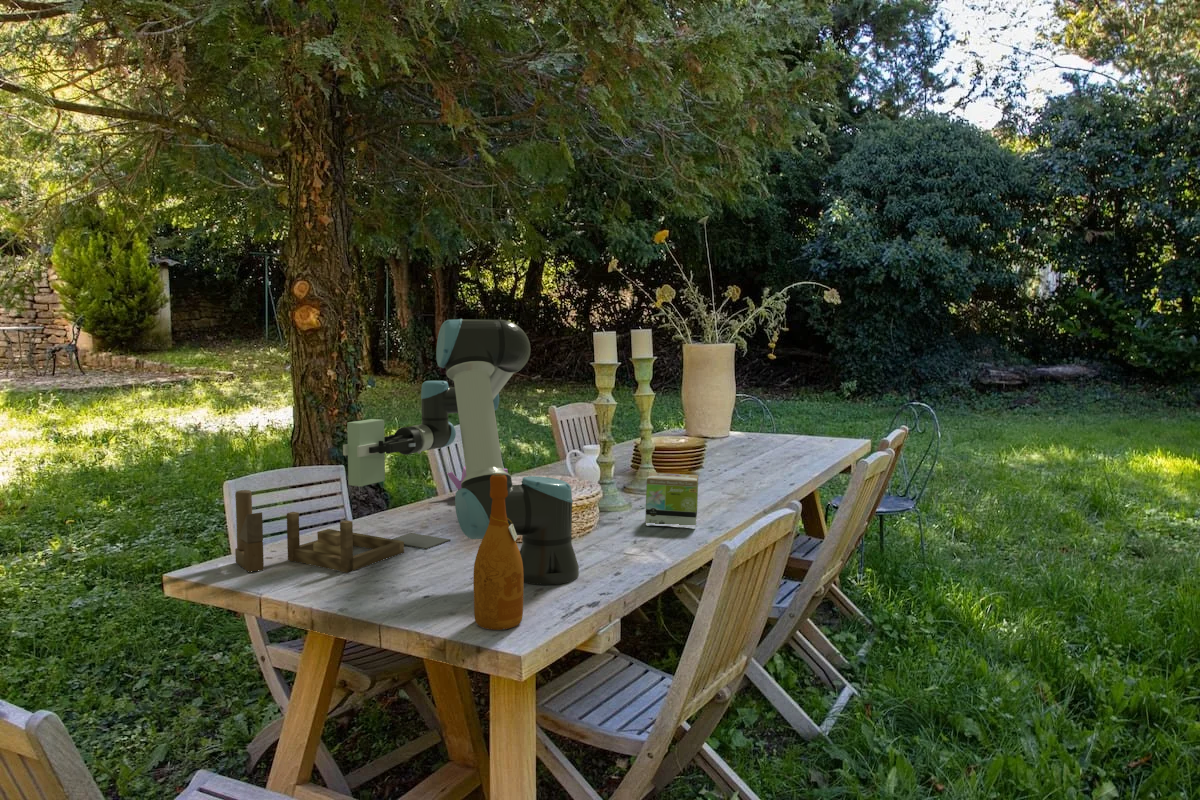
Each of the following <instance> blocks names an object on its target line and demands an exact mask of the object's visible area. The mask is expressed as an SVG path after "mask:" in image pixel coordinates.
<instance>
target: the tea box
mask: <svg viewBox="0 0 1200 800" xmlns="http://www.w3.org/2000/svg"><path fill="white" fill-rule="evenodd" d="M645 493H646V494H645V523H655V524H679V525H697V521H696V519H697V520H698V497H699V494H698V493H699V475H698V474H685V473H684V474H682V473H681V474H680V473H663V472H662V473H661V472H649V475H648V476H647V478H646V491H645Z"/></svg>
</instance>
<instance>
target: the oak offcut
mask: <svg viewBox="0 0 1200 800" xmlns="http://www.w3.org/2000/svg"><path fill="white" fill-rule="evenodd" d="M313 549H314V551H316V552H321V553H326V554H331V555H336V556H341V549H340V546H333V545H328V544H324V543H319V542H316V543H314V544H313Z"/></svg>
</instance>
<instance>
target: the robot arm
mask: <svg viewBox="0 0 1200 800" xmlns="http://www.w3.org/2000/svg"><path fill="white" fill-rule="evenodd" d="M436 342H437V343H436V349H435V350H436V353H435V354H436V355H435V357H436V358H435V359H436V363H437V366H438V367H439V368H442V369H445V372H446V376H447V378H448V379H450V380H451V381H452V382H453V383H454V386H449V383H448V381H446V380H425V381H424V382H423V383H422V384H421V392H420V393H421V394H420V395H421V396H420V401H421V406H420V407H421V424H414V425H409V426H404V427H400V428H398V429H396V431H395V433H394V434H389V435H387V436H386V435H384V442H383V441H379V446H378V443H372V444H367V445H361V446H357V457H363V456H368V455H373V454H378V452H379V453H380V454H382V453H385V454H387V455H389V454H394V453H399V454H401V455H405V456H407V455H412V454H415V453H417V454H418V455H419V454H421V453H422V452H427V451H429V450H436V449H442V448H446V447H447V446H450V445H451V444H452V443H453V442H455V440H456V436H457V432H456V429H455V426H454V424H453V423H451V421H449V414H458V420H459V428H460V429H459V430H460V435H461V444H462V452H463V458H464V466H465V468H466V477H465V478H464V480H463V481H462V482H461V489H460V490H458V489H457V491H456V493H455V495H454V503H455V505H454V509H455V513H456V518H457V523H458V525H459V526H460V530H461V531H462V532H463V534H464V536H465V537H467V539H470V540H483V537H484V535H485V533H486V530H487V528H488V525H489V522H490V514H491V506H492V498H491V497H490V477H491V476H492V475H494V474H503V475H505V476H506V477H507V491H508V496H507V497H506V498H505V506H506V515H507V518H508V519H507V521H508V524H509V525H511V524H513V526H514V528H515V531H516V534H517V537H519V536H522V537H521V542H522V543H521V546H520V549H519V551H520V554H521V558H522V563H523V574H524V583H526V584H532V585H542V586H543V585H544V586H546V585H547V586H549V585H550V586H551V585H560V584H565V583H569V582H572V581H574V580H576V579H577V578H578V577H579V573H580V572H579V571H580V569H579V567H580V566H579V563H578V560H577V557H576V553H575V549H574V547H573V543H572V541H573V540H572V535H573V534H572V532H573V531H572V529H573V527H572V523H573V521H572V519H573V502H574V501H573V497H572V487H571V485H570V484H569V483H568V482H567V481H565V480H562V479H558V478H554V477H548V476H537V475H533V476H532V475H529V476H524V477H523V478H522V480H521V484H513V480H512V476H511V474H510V473H509V472H508V473H507V472H505V471H504V470H503V469H504V466H503V465H504V464H503V458H502V451H501V444H500V437H499V431H498V425H497V419H496V418H497V417H496V412H495V411H497V410H498V408H499V404H500V392H501V390H502V389H503V388H504V387H505V385H506V384H507V383H508V381H510V379H511V377H512V376H513V375H514V374H515V373H517V372H519V371H521V370H522V369H523V368H524V367H525V366H526V364H528V361H529V360H530V356H531V350H532V349H531V343H530V340H529V337H528V335H527V333H526V332H525V331H524V330H523V329H522V328H521V327H520V326H519V325H518V324H515V323H514V322H512V321H509V320H506V319H463V318H457V319H446V320H444V322H442V324H441V326H440V328H439V331H438V335H437V341H436ZM342 455H343V456H345V457H346V456H348V443H345V444H342ZM511 522H512V523H511Z"/></svg>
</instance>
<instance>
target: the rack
mask: <svg viewBox="0 0 1200 800" xmlns="http://www.w3.org/2000/svg"><path fill="white" fill-rule="evenodd" d="M353 529H354V527H353V520H343V521H340V522H339V531H340V549H341V556H336V555H331V554H326V553H321V552H316V551H314V549H313V544H314V543H316V542H318V539H315V540H312V541H310V542H307V543H303V544H300V543H301V542H300V540H301V539H300V513H299V512H297V511H289V512H287V513H286V531H287V532H286V533H287V534H286V535H287V539H286V540H287V542H286V543H287V544H286V545H287V561H288V560H290V561H289V562H292V561H296V562H295V563H299V562H302V563H301V564H303V563H306V564H305V565H308V564H311V565H310V566H313V565H316V566H315V567H318V566H320V567H319V568H323V567H324V568H323V569H328V568H329V569H328V570H332V569H334V571H337V570H338V572H340V573H345V572H346V573H345V574H348V573H351V572H353V571H357V570H359V569H361V568H365V567H368V566H371V565H373V564H372V563H374V564H376V563H379V562H382V561H384V560H383V559H385V560H387V559H386V558H388V559H390V558H389V557H391V558H393V557H396V556H399V555H401V553H402V554H405V546H404V541H399V540H393V538H388V537H387V538H386V537H381V536H374V535H370V534H369V535H368V534H364V533H358V532H354V531H353ZM358 546H359V547H358ZM354 547H358V548H363V547H365V549H368V550H367V551H364V552H360V553H357V554H355V555H354ZM369 548H371V549H369ZM398 554H399V555H398ZM395 555H396V556H395ZM392 556H393V557H392ZM381 560H382V561H381ZM378 561H379V562H378ZM375 562H376V563H375ZM370 564H371V565H370ZM367 565H368V566H367ZM356 569H357V570H356Z"/></svg>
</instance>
